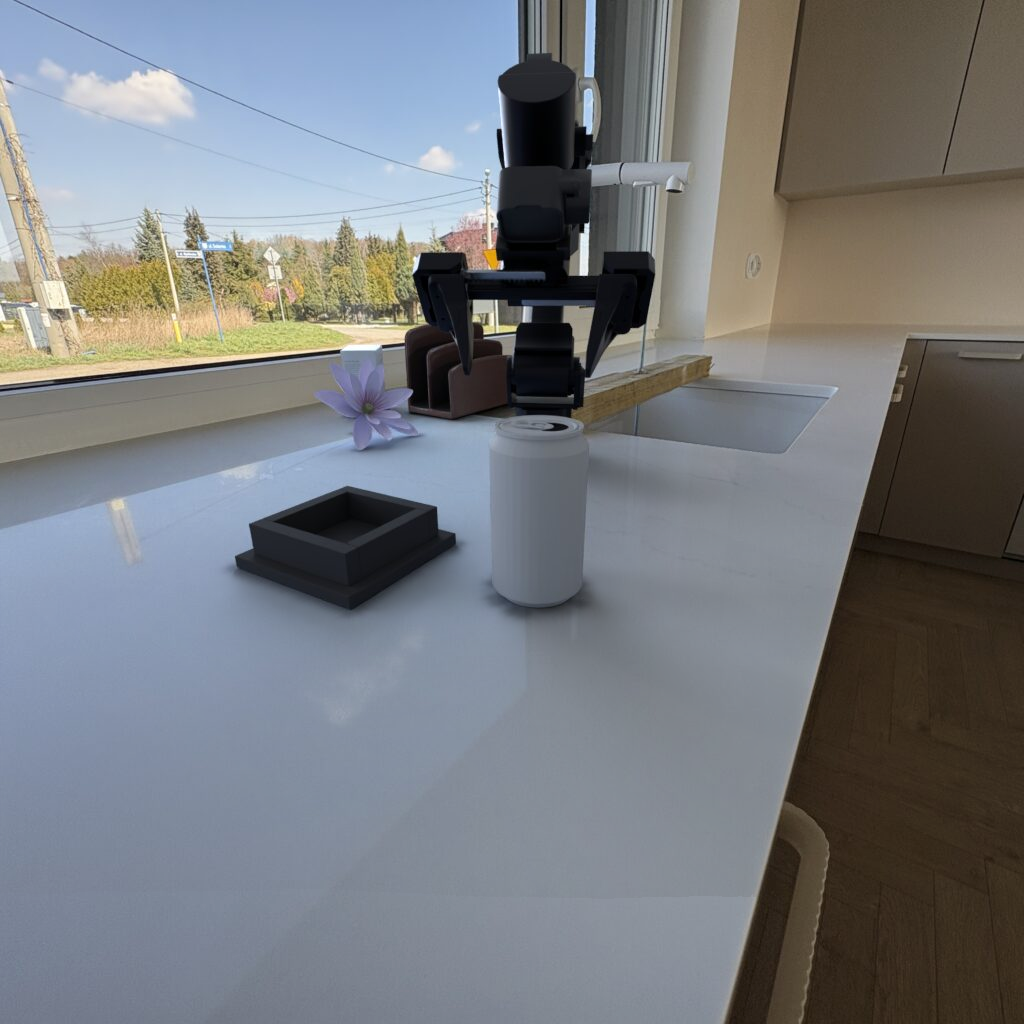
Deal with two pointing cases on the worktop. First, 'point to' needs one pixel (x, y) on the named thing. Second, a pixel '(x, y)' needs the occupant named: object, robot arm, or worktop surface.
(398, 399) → the water lily
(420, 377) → the letter holder
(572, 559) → the beverage can
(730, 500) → the worktop surface
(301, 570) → the socket pad
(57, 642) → the worktop surface
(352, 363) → the small box
